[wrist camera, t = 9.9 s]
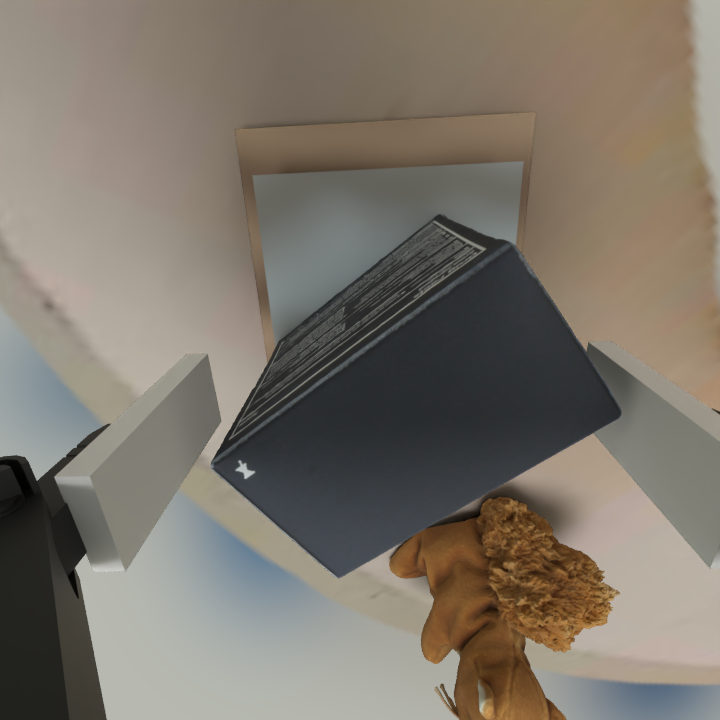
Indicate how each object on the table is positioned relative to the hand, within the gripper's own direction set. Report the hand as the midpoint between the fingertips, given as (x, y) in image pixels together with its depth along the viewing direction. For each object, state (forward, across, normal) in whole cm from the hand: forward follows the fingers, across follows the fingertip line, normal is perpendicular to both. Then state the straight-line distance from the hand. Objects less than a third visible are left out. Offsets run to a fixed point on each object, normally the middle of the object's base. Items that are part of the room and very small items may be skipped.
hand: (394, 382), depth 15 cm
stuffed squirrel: (+13, +7, -22) cm, 26 cm away
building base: (+14, 0, -1) cm, 14 cm away
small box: (+7, 0, 0) cm, 7 cm away
